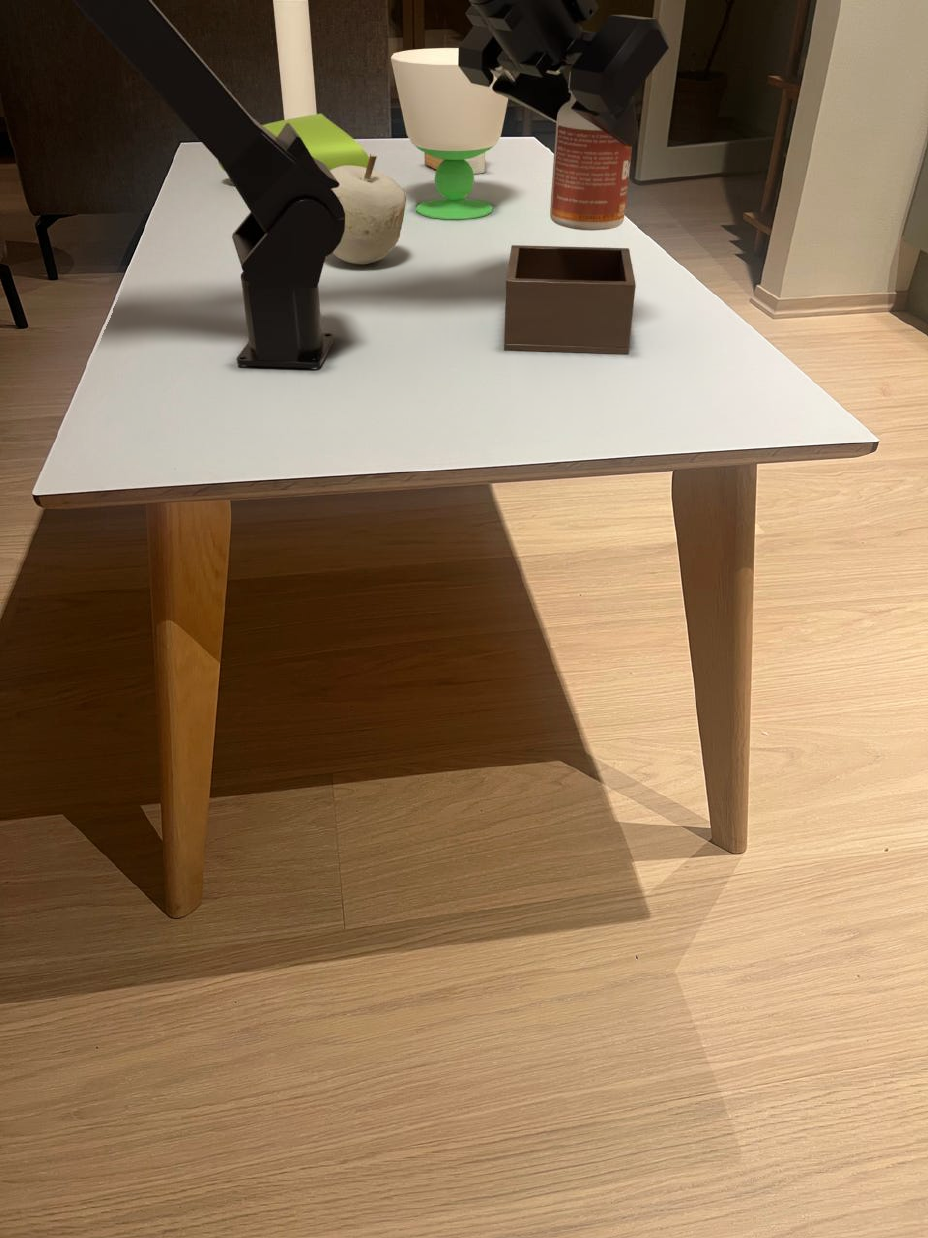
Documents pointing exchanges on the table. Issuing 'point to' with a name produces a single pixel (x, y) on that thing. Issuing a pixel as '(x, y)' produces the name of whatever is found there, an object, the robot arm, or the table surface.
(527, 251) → the brown rectangular open box
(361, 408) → the table surface
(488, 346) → the table surface
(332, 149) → the green curved piece
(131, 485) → the table surface
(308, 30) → the candle
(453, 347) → the table surface
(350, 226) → the decorative object
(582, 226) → the pill bottle
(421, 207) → the cup
